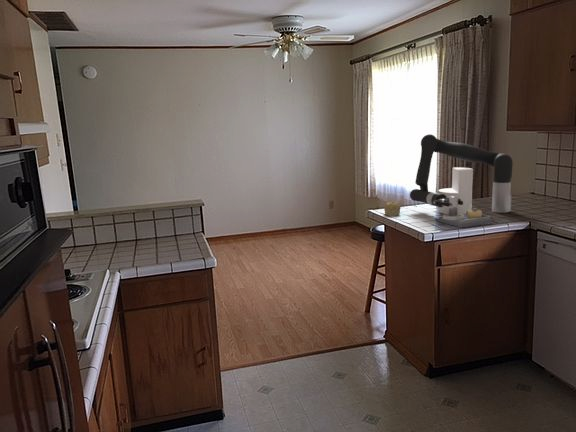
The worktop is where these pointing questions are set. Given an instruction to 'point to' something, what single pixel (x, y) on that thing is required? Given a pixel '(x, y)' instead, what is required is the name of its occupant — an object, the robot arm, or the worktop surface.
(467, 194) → the white stepped tower
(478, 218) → the carrier
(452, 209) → the grey block on base
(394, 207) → the decorative item
